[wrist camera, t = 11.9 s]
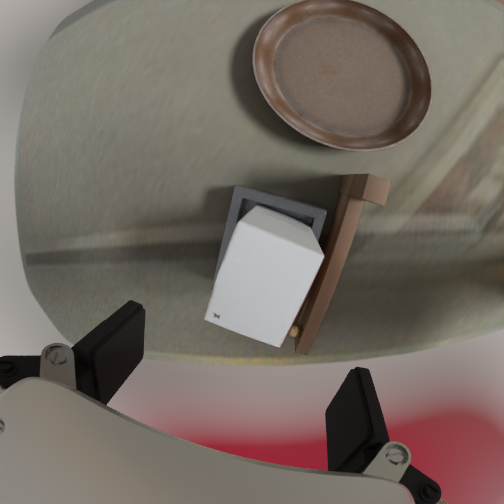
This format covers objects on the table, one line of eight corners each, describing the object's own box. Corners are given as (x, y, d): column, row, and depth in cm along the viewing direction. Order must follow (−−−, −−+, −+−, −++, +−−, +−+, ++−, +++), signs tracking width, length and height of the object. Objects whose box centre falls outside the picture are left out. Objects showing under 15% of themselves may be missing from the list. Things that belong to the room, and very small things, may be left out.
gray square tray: (323, 207, 30) (327, 211, 26) (293, 298, 33) (294, 312, 30) (241, 184, 30) (235, 185, 27) (219, 277, 33) (211, 288, 30)
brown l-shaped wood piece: (359, 180, 28) (391, 182, 19) (307, 333, 34) (311, 384, 24) (335, 172, 28) (357, 169, 19) (286, 327, 34) (283, 378, 25)
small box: (283, 286, 32) (279, 351, 20) (233, 266, 32) (200, 321, 20) (311, 223, 30) (327, 255, 17) (257, 201, 30) (235, 219, 17)
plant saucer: (222, 94, 28) (214, 86, 25) (307, -12, 22) (308, -25, 19) (373, 189, 29) (383, 191, 25) (441, 71, 23) (452, 63, 19)
